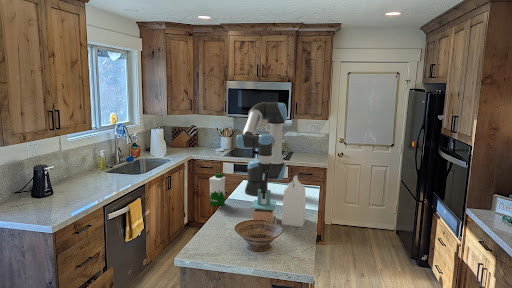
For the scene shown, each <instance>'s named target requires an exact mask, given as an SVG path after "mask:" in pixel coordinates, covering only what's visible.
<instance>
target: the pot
mask: <svg viewBox="0 0 512 288" xmlns="http://www.w3.org/2000/svg"><path fill="white" fill-rule="evenodd" d="M274 218H275V210H263V209H254V210H253V216H252V221H253V220H267V221H272V222H273V223H274V220H275V219H274Z"/></svg>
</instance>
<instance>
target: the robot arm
mask: <svg viewBox="0 0 512 288" xmlns="http://www.w3.org/2000/svg"><path fill="white" fill-rule="evenodd" d="M247 117H248V118H247V121H246V122H245V125H244V128H243V131H242V133H241V134H237V136H236V137H235V145H236V147H237V148H240V149H241V148H243V149H258V156H257V159H254V160H250V161H249V162H248V164H247V183H246V186H245V189H244V193H245V194H246V195H248V196H258V189H259V190H261V192H260V193H262V194H261V204H266V190H269V189H268V183H269V182H268V181H269V180H275V181H279V180H280V181H282V180H283V179H284V177H285V172H286V166H287V164H286V163H285V160H284V159H283V157H282V156H283V126H284V124H285V123H286V122H287V120H288V109H287V105H286V104H285V102H269V101H268V102H265V101H262V102H260V103H257V104H254V106H252V107H251V108H250V110H249V111H248V114H247ZM262 120H266V121H267V124H268V125H269V134H268V133H262V134H259V135H256V133H257V130H258V128H259V123H260V122H261V121H262Z"/></svg>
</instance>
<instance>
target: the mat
mask: <svg viewBox="0 0 512 288" xmlns="http://www.w3.org/2000/svg"><path fill="white" fill-rule="evenodd" d="M253 210H254V209H251V207H250V208H249V207H238V206H237V207H236V206H235V207H234V206H230V207H229V208H228V210H227V211H226V212H225V214H224V217H229V218H243V219H253Z"/></svg>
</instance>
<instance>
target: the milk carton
mask: <svg viewBox="0 0 512 288" xmlns="http://www.w3.org/2000/svg"><path fill="white" fill-rule="evenodd" d="M208 180H209V206H210V207H217V208H220V207H222V206H223V205H225V202H226V200H225V198H226V197H225V196H226V185H225V183H226V176H223V173H221V172H217V173H215V175H214V176H211V177H210V178H208Z"/></svg>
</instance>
